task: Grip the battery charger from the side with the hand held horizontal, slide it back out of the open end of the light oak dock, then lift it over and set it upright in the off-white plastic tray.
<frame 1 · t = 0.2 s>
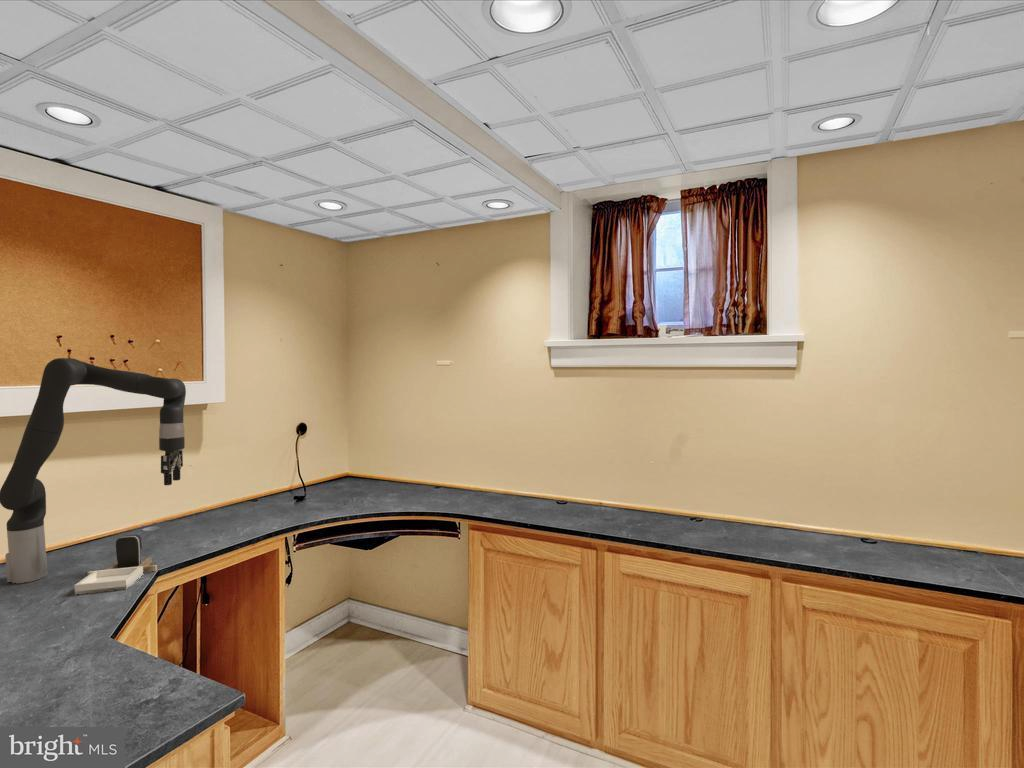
hand: (172, 482, 192), 29 cm above the table, tool pointing down, fingers open, 8 cm apart
dock: (130, 568, 190), on the table
battery charger: (130, 569, 190), on the table
tray: (110, 584, 176), on the table
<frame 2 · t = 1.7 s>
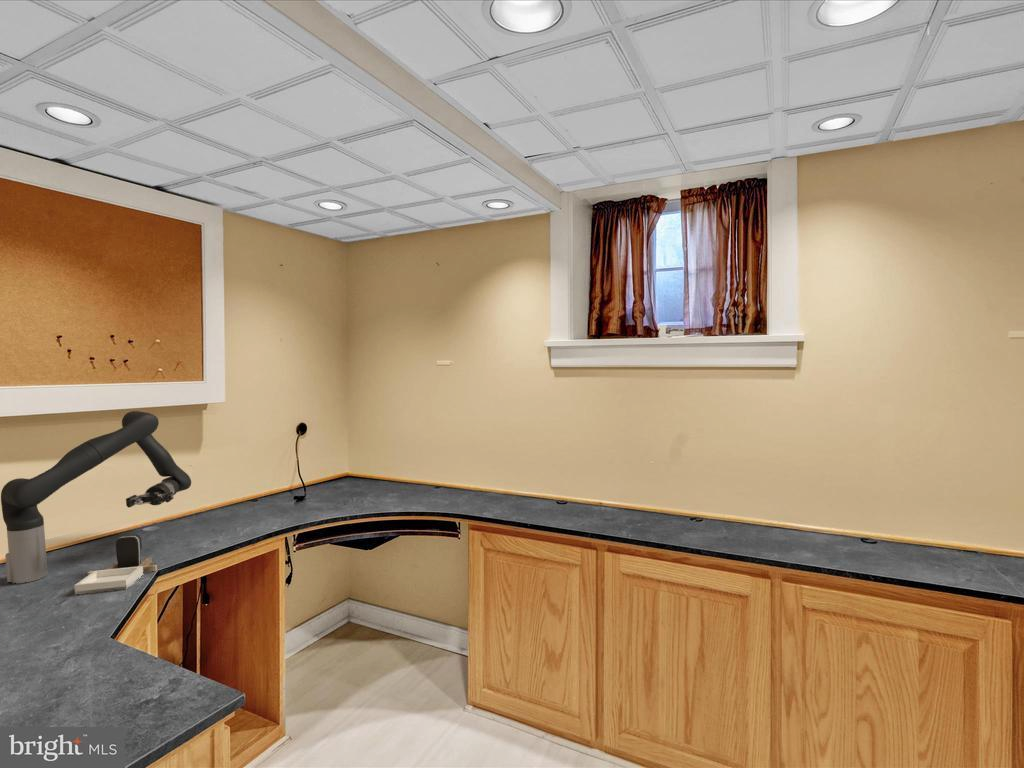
hand: (141, 503, 200), 20 cm above the table, tool horizontal, fingers open, 8 cm apart
nothing on the table moved.
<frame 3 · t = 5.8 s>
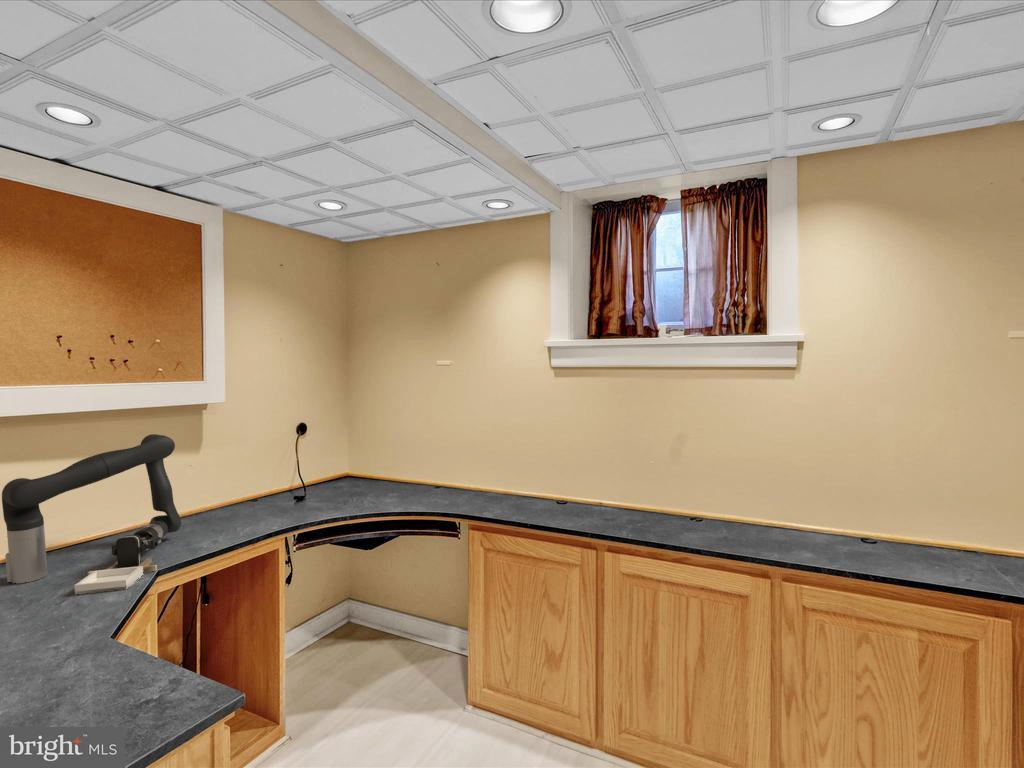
hand: (126, 551, 187), 7 cm above the table, tool horizontal, fingers closed on battery charger, 7 cm apart
battery charger: (130, 569, 190), on the table, touching gripper
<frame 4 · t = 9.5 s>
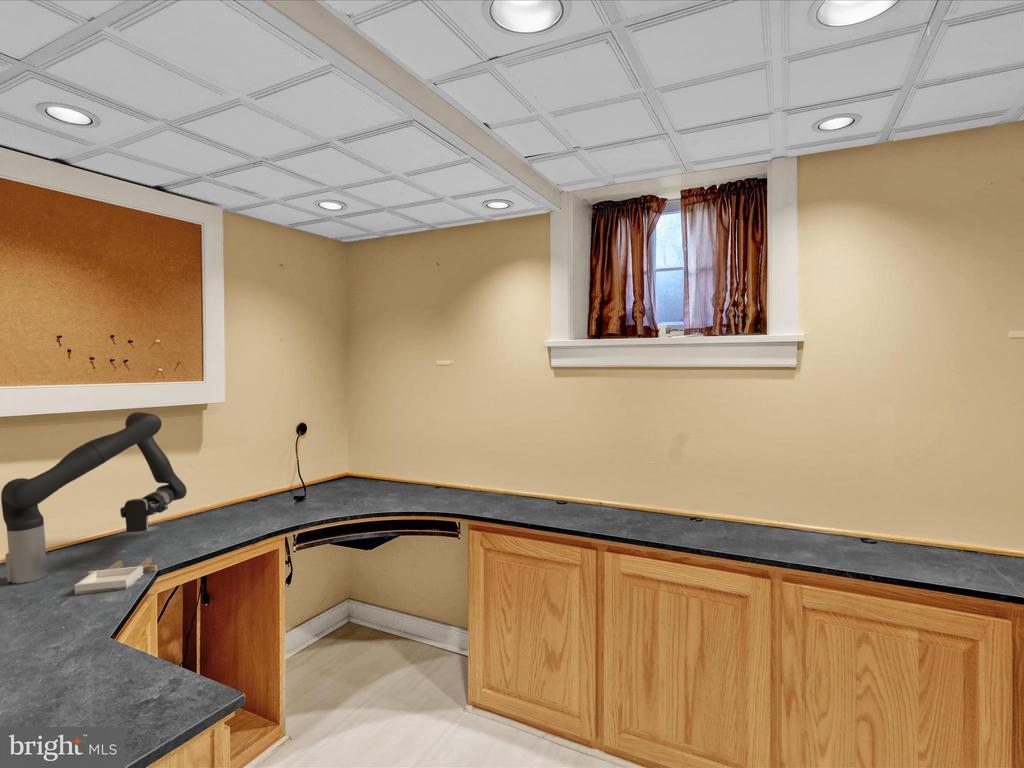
hand: (135, 514, 195), 17 cm above the table, tool horizontal, fingers closed on battery charger, 7 cm apart
battery charger: (138, 531, 197), point 11 cm above the table, touching gripper
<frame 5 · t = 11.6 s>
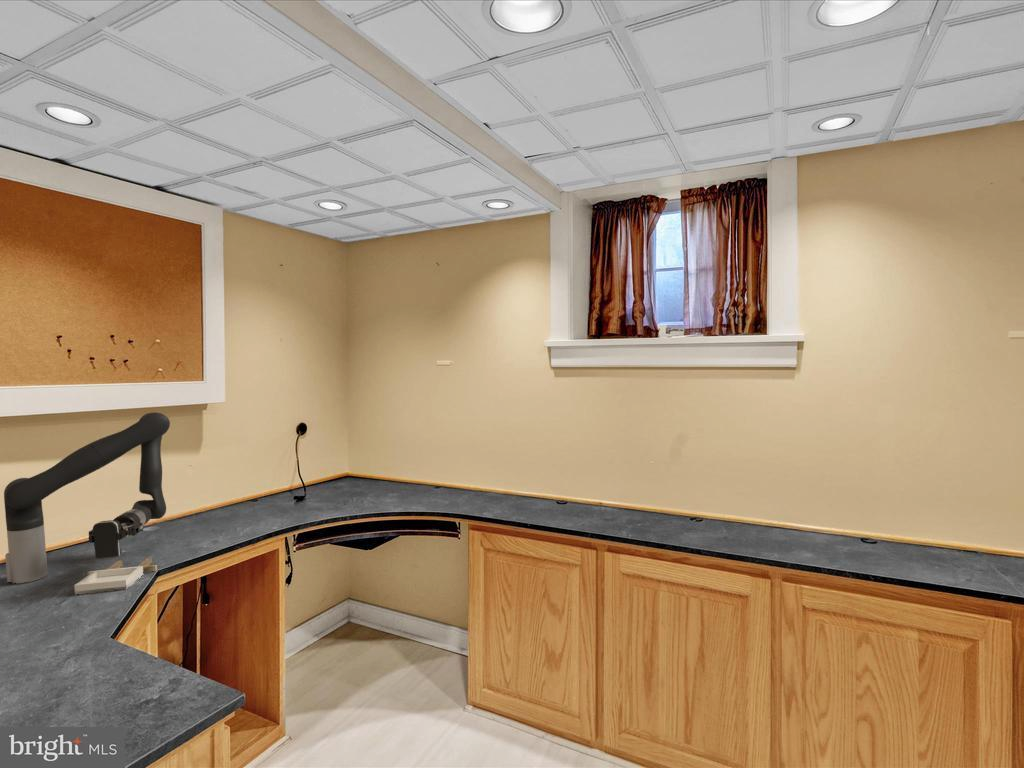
hand: (104, 538, 173), 16 cm above the table, tool horizontal, fingers closed on battery charger, 7 cm apart
battery charger: (109, 556, 176), point 9 cm above the table, touching gripper
when the fingers open (9 cm above the table, at t = 13.3 s): battery charger drops 1 cm, resting on tray.
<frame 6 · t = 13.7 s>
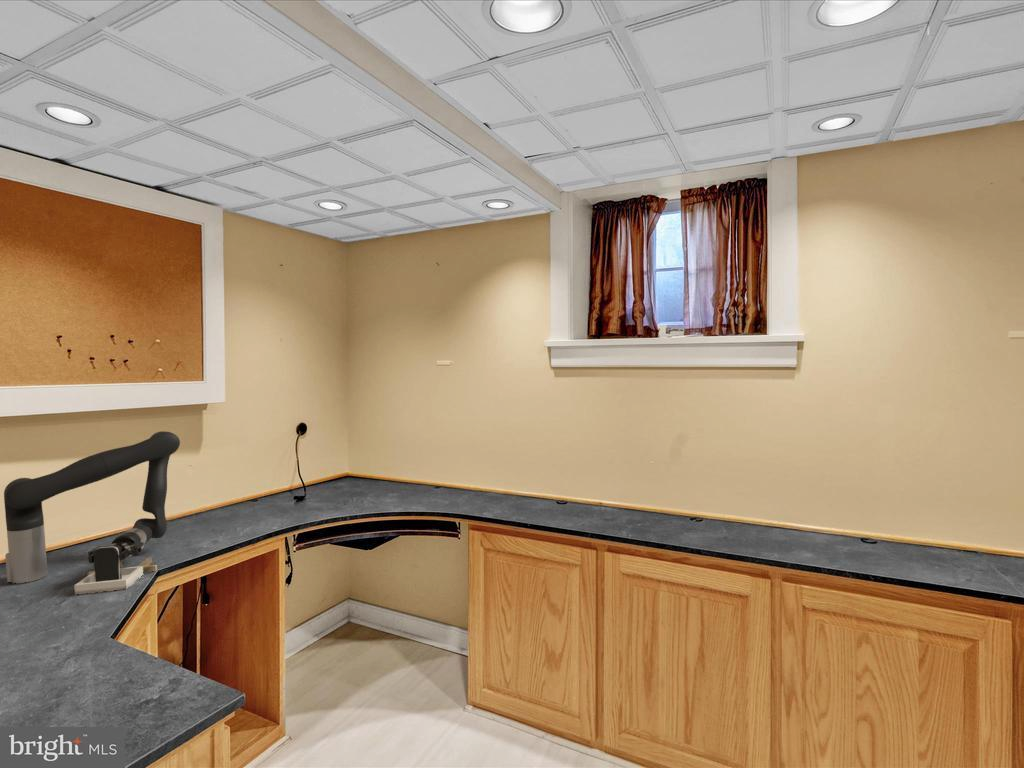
hand: (105, 558, 174), 9 cm above the table, tool horizontal, fingers open, 8 cm apart
battery charger: (110, 581, 176), point 1 cm above the table, touching tray
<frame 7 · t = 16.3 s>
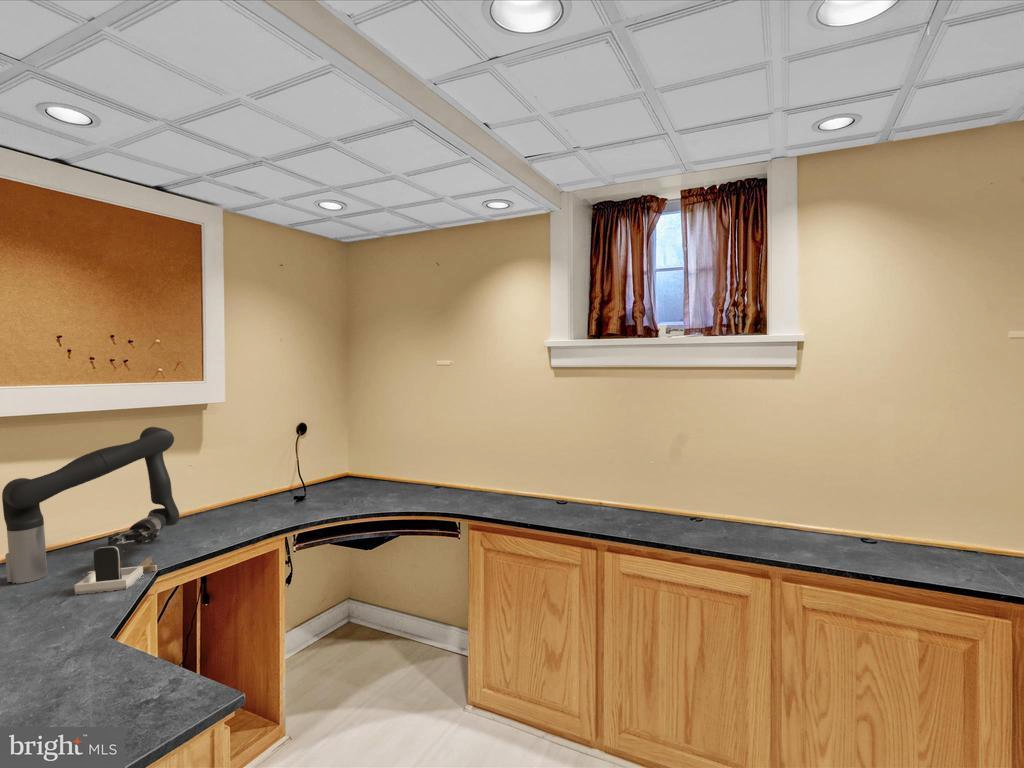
hand: (124, 543, 187), 10 cm above the table, tool horizontal, fingers open, 8 cm apart
nothing on the table moved.
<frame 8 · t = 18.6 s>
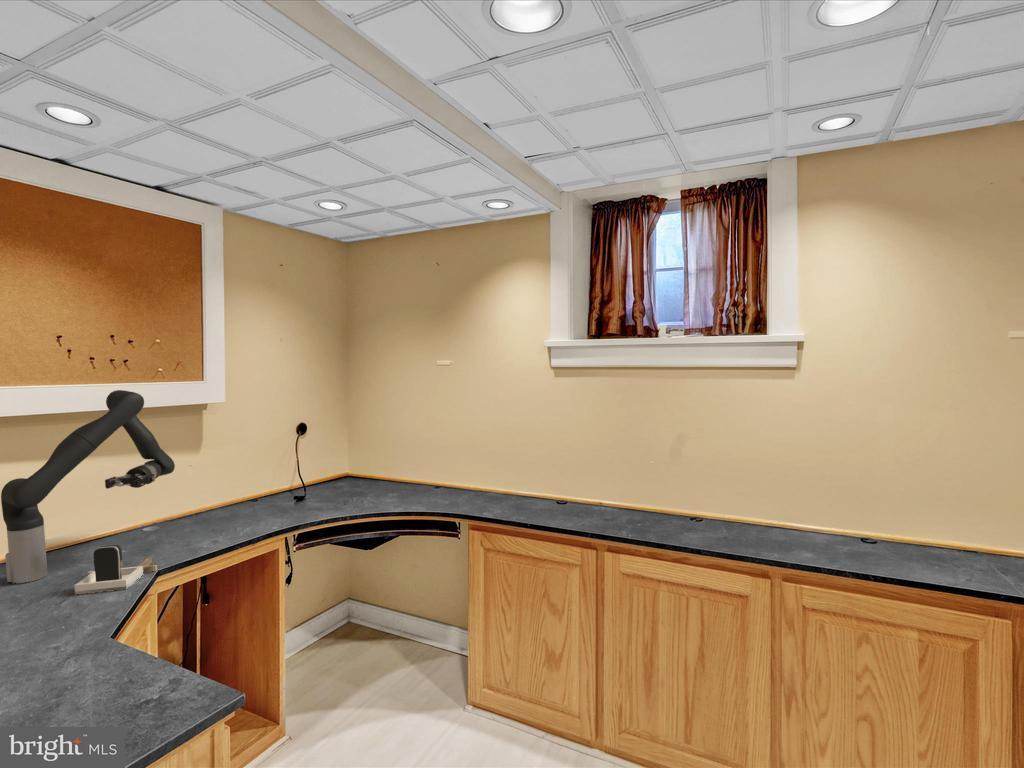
hand: (121, 484, 194), 28 cm above the table, tool horizontal, fingers open, 8 cm apart
nothing on the table moved.
at the end: battery charger inside the target area on the tray (0.1 cm from its centre), point 0.8 cm above the tray's base; battery charger tilted 0°; the gripper is holding nothing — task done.
